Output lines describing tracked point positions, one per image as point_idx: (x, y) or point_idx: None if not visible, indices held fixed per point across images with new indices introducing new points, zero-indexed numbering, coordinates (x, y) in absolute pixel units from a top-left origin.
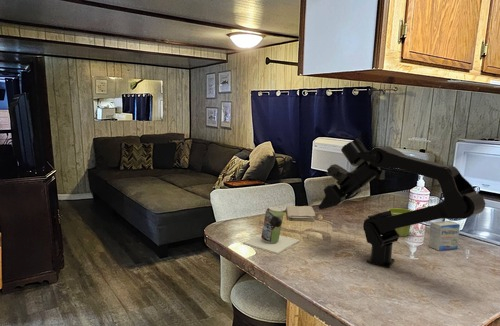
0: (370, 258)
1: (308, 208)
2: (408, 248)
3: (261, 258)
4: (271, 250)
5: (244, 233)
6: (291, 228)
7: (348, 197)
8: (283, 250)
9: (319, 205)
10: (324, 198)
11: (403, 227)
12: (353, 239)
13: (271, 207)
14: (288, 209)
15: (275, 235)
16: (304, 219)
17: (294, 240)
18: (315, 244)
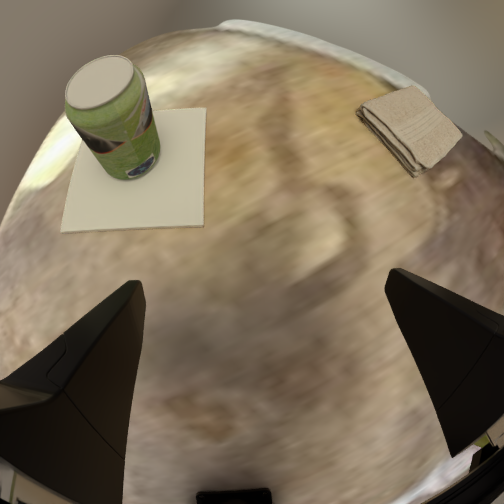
0: (222, 497)
1: (446, 133)
2: (393, 500)
3: (26, 217)
4: (66, 207)
5: (163, 83)
6: (304, 145)
7: (452, 430)
8: (90, 231)
9: (117, 290)
10: (34, 363)
11: (480, 445)
12: (372, 369)
13: (99, 66)
14: (398, 92)
15: (105, 167)
16: (393, 148)
17: (188, 211)
18: (220, 289)
